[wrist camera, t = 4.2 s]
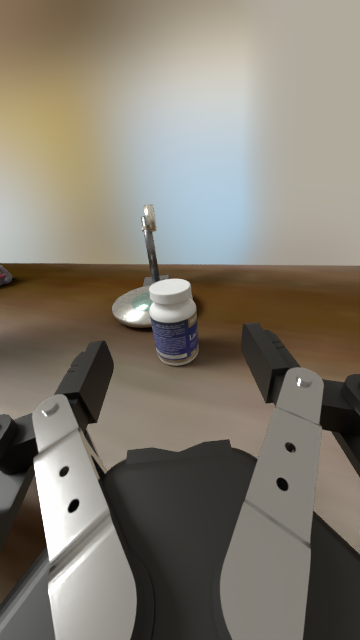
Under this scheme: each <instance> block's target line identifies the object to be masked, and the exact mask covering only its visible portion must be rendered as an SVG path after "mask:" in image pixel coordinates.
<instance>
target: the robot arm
mask: <svg viewBox="0 0 360 640" xmlns="http://www.w3.org/2000/svg"><path fill="white" fill-rule="evenodd" d="M242 352H243V355H244V358H245V360H246V362H247V364H248V366H249V368H250V371H251V373H252V375H253V377H254V379H255V381H256V383H257V386H258V388H259V390H260V392H261V394H262V396H263V398H264V401H265V403H274V404H275V408H274V410H273V414H272V417H271V420H270V423H269V426H268V429H267V432H266V435H265V438H264V442H263V445H262V448H261V451H260V454H259V457H258V459H257V458H255V457H254V456H252V455H251V454H249V453H247V452H245V451H242V450H239V449H236V448H231V445H230V441H229V439H228V440H219V441H209V442H203V443H201V444H198V445H196V446H193V447H191V448H188V449H186V450H183V451H181V452H173V451H168V450H163V449H157V448H144V449H135V450H128V451H127V458H126V459H125V460H123V461H121V462H120V463H118V464H116V465H115V466H113V467H112V468H111V469H110V470H108V471H107V470H106V468H105V467H104V465H103V463H102V461H101V459H100V456H99V454H98V452H97V450H96V447H95V445H94V443H93V441H92V438H91V436H90V434H89V432H88V430H87V429H86V428H87V425H88V424H90V423H97V420H98V417H99V414H100V411H101V408H102V405H103V401H104V398H105V395H106V392H107V389H108V386H109V383H110V379H111V376H112V373H113V369H114V363H113V359H112V357H111V354H110V351H109V349H108V346H107V344H106V342H105V341H97V342H91V343H89V345H88V347H87V349H86V351H85V352H81V353H80V354H79V355H78V356H77V357H76V358H75V359H74V361H73V363H72V364H71V367H70V368H69V370H68V371H67V374H66V375H65V377H64V378H63V380H62V382H61V383H60V385H59V387H58V389H57V390H56V392H55V394H54V395H53V396H50V397H48V398H47V399H45V400H43V401H42V402H41V403H40V404H39V405H38V406H37V407H36V408H35V410H34V412H33V413H31V414H28V415H26V416H23V417H20V418H18V419H15V420H13V419H12V418H11V417H10V416H9V415H6V414H2V415H0V553H1V550H2V548H3V546H4V543H5V541H6V539H7V536H8V534H9V532H10V530H11V527H12V525H13V523H14V520H15V518H16V516H17V513H18V511H19V509H20V507H21V504H22V502H23V500H24V497H25V495H26V493H27V490H28V488H29V486H30V483H31V481H32V479H33V477H34V474H36V481H37V487H38V493H39V499H40V505H41V511H42V517H43V523H44V529H45V535H46V541H47V546H46V547H45V549H44V550H43V551H42V552H41V554H40V555H39V556H38V557H37V559H36V560H35V561H34V562H33V564H32V565H31V566H30V567H29V569H28V570H27V571H26V573H25V574H24V575H23V576H22V578H21V579H20V580H19V581H18V583H17V584H16V585H15V586H14V588H13V589H12V590H11V591H10V593H9V594H8V595H7V597H6V598H5V599H4V600H3V602H2V603H1V604H0V640H360V554H359V553H358V552H357V551H356V550H355V549H353V548H352V547H351V546H350V545H349V544H348V543H347V542H346V541H345V540H344V539H343V538H342V537H341V536H340V535H339V534H338V533H336V532H335V531H334V530H333V529H332V528H331V527H330V526H329V525H328V524H327V523H326V522H325V521H324V520H323V519H322V518H321V517H320V516H318V515H317V514H316V513H315V512H314V511H313V507H314V498H315V489H316V480H317V471H318V461H319V452H320V443H321V434H322V429H323V430H328V431H331V432H332V434H333V435H334V437H335V438H336V440H337V442H338V443H339V445H340V446H341V448H342V450H343V451H344V453H345V454H346V456H347V458H348V459H349V461H350V462H351V464H352V466H353V467H354V469H355V470H356V472H357V474H358V475H359V477H360V374H353V375H349V376H348V377H347V378H346V380H345V382H337V381H330V380H323V379H321V378H320V376H319V375H317V374H316V373H315V372H313V371H311V370H309V369H305V368H301V367H300V366H299V364H298V363H297V362H296V360H295V359H294V358H293V356H292V355H291V354H290V353H289V351H288V350H287V349H286V348H285V346H284V345H283V343H281V341H280V340H279V338H278V337H277V336H276V335H275V334H274V333H272V332H271V331H269V330H263V329H262V328H261V326H260V325H259V323H257V322H256V323H247V324H243V330H242Z"/></svg>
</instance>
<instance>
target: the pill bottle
mask: <svg viewBox="0 0 360 640" xmlns="http://www.w3.org/2000/svg"><path fill="white" fill-rule="evenodd" d="M149 291H150V298H151V300H152V301H153V303H152V304H151V306H150V310H149V313H150V319H151V324H152V329H153V334H154V339H155V345H156V350H157V354H158V357H159V358H160V360H161V361H162V362H164V363H166V364H168V365H174V366H178V365H184V364H187V363H189V362H191V361H192V360H193V359H194V358H195V357H196V356H197V354H198V351H199V346H198V328H197V311H196V305H195V303H194V301H193V300H192V299H191V298H189V297H190V296H191V286H190V283H189V282H188V281H186V280H182V279H166V280H162V281H158V282H156V283H154V284H152V285H151V286H150V288H149Z"/></svg>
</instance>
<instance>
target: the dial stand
mask: <svg viewBox="0 0 360 640" xmlns="http://www.w3.org/2000/svg"><path fill="white" fill-rule="evenodd" d="M144 212H145V216H143V217H141V220H142V225H143V228H142V231H144V237H145V242H146V248H147V253H148V259H149V264H150V270H151V275H152V277H146V278H145V280H144V284H143V287H145V286H150V285H152V284H154V283H156V282H158V281H162V280H166V279H169V276H168V275H164V276H159V271H158V265H157V259H156V252H155V246H154V240H153V235H152V232H154V231H156V221H155V214H154V208H153V205H152V204H151V205H144Z"/></svg>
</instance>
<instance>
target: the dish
mask: <svg viewBox="0 0 360 640" xmlns="http://www.w3.org/2000/svg"><path fill="white" fill-rule="evenodd" d="M150 286H151V285H150ZM150 286H145V287H141V288H137V289H134V290H132V291H129V292H127V293H125V294H124V295H122V296H121V297H119V298H118V299H117V300H116V301H115V302H114V304H113V306H112V312H113V315H114V317H115V319H116V320H117V321H118V322H119V323H121V324H123V325H126V326H130V327H138V328H146V327H152V324H151V319H150V313H149V310H150V306H151V304H152V303H153V301H152V300H151V298H150V291H149V288H150ZM189 298H191V299H192V300H193V298H192V294H191V296H190V297H189Z"/></svg>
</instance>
